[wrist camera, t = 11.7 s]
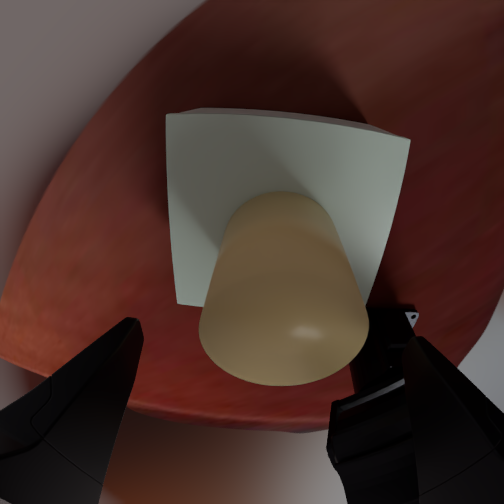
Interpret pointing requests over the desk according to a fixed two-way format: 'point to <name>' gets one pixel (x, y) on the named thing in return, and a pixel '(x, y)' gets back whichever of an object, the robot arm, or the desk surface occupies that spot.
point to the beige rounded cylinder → (282, 295)
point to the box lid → (276, 185)
